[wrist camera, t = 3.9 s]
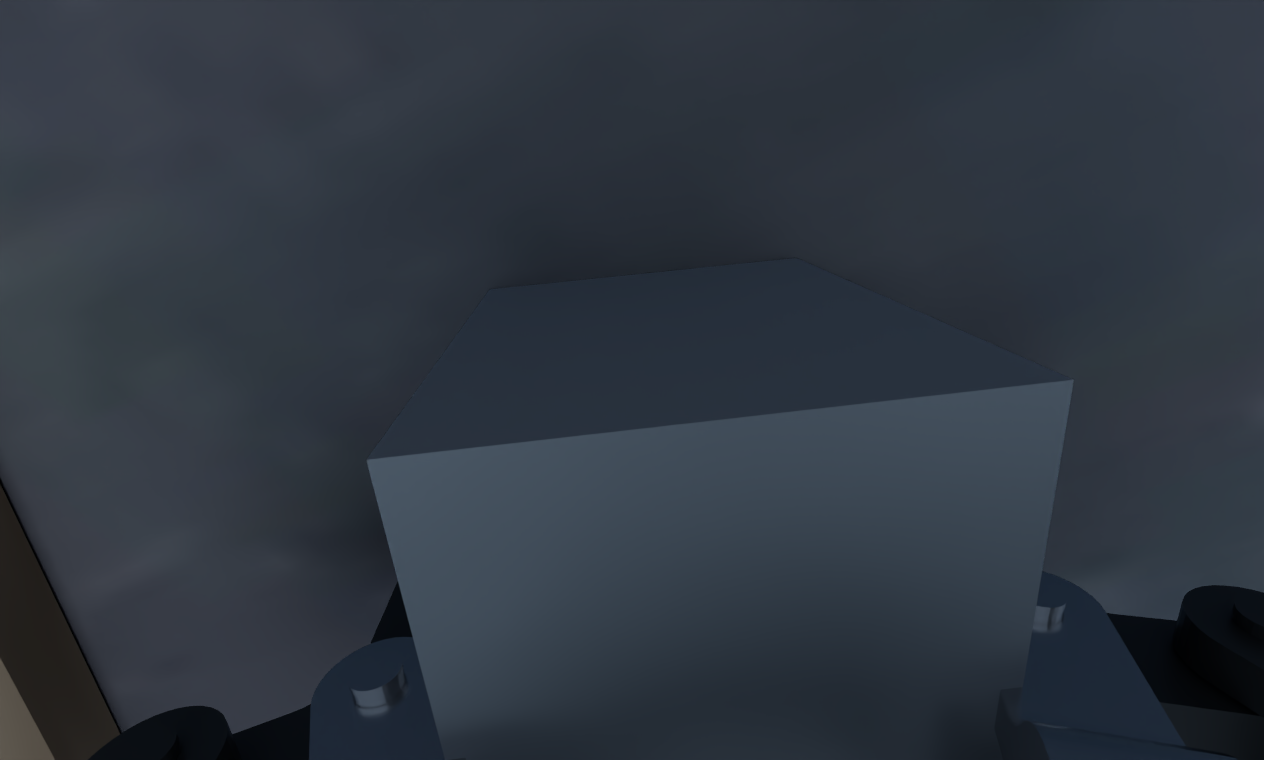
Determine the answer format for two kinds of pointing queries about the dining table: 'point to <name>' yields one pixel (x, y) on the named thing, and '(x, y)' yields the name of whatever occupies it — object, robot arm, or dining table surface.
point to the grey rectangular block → (720, 521)
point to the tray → (41, 664)
